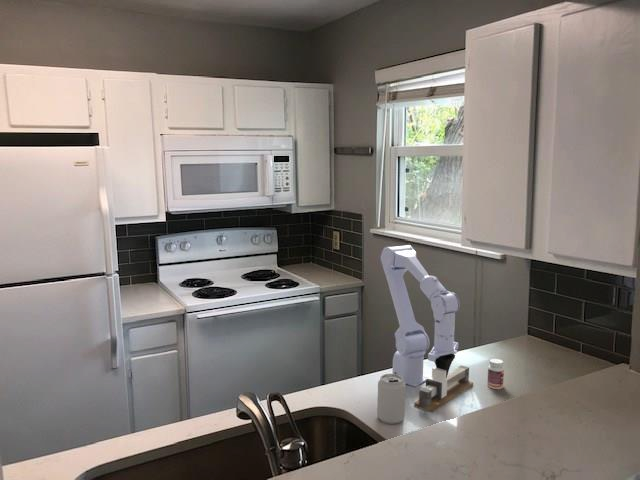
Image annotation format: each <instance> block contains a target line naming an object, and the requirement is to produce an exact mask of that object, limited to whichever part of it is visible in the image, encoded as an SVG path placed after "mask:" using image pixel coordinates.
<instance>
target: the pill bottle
mask: <svg viewBox="0 0 640 480" xmlns="http://www.w3.org/2000/svg"><path fill="white" fill-rule="evenodd" d="M504 372H505V367H504V361H503V360H502V359H498V358H491V359H490V360H489V365H488V368H487V381H486V382H487V383H486V384H487V387H488V388H490V389H494V390H500V389H503V387H504V376H505V373H504Z"/></svg>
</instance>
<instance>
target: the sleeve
mask: <svg viewBox="0 0 640 480" xmlns="http://www.w3.org/2000/svg"><path fill="white" fill-rule="evenodd" d="M431 369H432V370H431V376H430V377H427V378H428V379H431V380H434V381H437V382H440V383H442V397H441V399H442V398H443V397H445V396H446V395H447V380H446V370H443V369H439V368H436V366H433V367H432V368H431Z"/></svg>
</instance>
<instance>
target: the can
mask: <svg viewBox="0 0 640 480" xmlns="http://www.w3.org/2000/svg"><path fill="white" fill-rule="evenodd" d="M406 385H407V384H405V382H404V381H403V378H402V377H401V376H400V375H397V374H392V373H385V374H382V375H381V376H380V379H378V381H377V404H376V405H377V409H376V410H377V412H376V415H377V418H378V419H379V420H380V421H381V422H383V423H386V424H389V425H394V424H395V425H397V424H399V423H401V422H402V421H403V420H404V419H405V417H406V416H405V415H406V387H407V386H406Z"/></svg>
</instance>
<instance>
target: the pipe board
mask: <svg viewBox="0 0 640 480" xmlns="http://www.w3.org/2000/svg"><path fill="white" fill-rule="evenodd" d="M469 378H470V367H468V366H465V365H459V366H457V368H454V370H451V371H450V372H448V375H447V378H446V380H447V395H446V396H445V397H443V398H442V399H440V400H439V399H436V398H433V396H435V395H437V392H438V386H436V385H433V384H429V385H428V386H426V385H425V386H424V387H422V388H420V389H419V391H418V392H419V395H418V400H416V401H414V403H413V406H414V407H416V406H417V407H416V408H419V409H422V410H424V411H428V412H430V413H433V412H435V411H436V410H438V409H440V408H441V407H442V406H444V405H446V404H447V403H448V402H450V401H452V400H453V399H454V398H456V397H458V396H460V395H461V394H462V393H464V392H465V391H467V390H468V389H469V388H471V387H473V385H474V382H473V381H471V380H469Z"/></svg>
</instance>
